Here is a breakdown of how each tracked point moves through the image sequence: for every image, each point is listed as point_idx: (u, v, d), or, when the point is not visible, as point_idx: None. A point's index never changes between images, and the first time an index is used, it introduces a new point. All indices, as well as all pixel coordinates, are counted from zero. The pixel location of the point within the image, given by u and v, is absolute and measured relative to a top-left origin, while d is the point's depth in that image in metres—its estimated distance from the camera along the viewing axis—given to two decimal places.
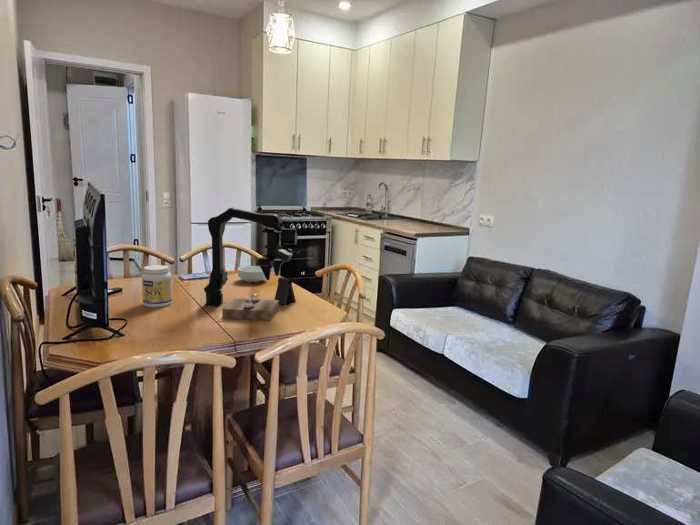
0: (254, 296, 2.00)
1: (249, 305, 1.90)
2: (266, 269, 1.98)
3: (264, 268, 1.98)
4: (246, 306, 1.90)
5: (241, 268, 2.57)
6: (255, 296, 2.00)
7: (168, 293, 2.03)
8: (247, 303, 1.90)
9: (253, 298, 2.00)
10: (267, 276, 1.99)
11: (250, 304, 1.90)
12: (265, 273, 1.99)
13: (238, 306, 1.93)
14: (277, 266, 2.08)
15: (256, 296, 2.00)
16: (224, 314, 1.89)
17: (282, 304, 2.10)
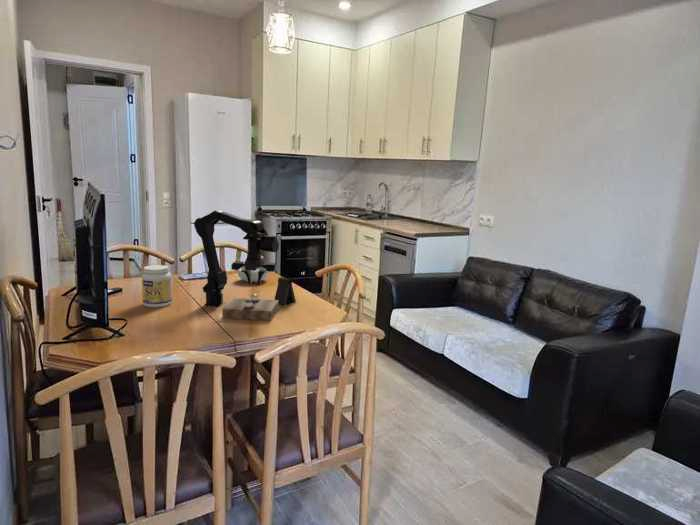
0: (254, 296, 2.00)
1: (249, 305, 1.90)
2: None
3: None
4: (246, 306, 1.90)
5: (241, 268, 2.57)
6: (255, 296, 2.00)
7: (168, 293, 2.03)
8: (247, 303, 1.90)
9: (253, 298, 2.00)
10: None
11: (250, 304, 1.90)
12: None
13: (238, 306, 1.93)
14: None
15: (256, 296, 2.00)
16: (224, 314, 1.89)
17: (282, 304, 2.10)
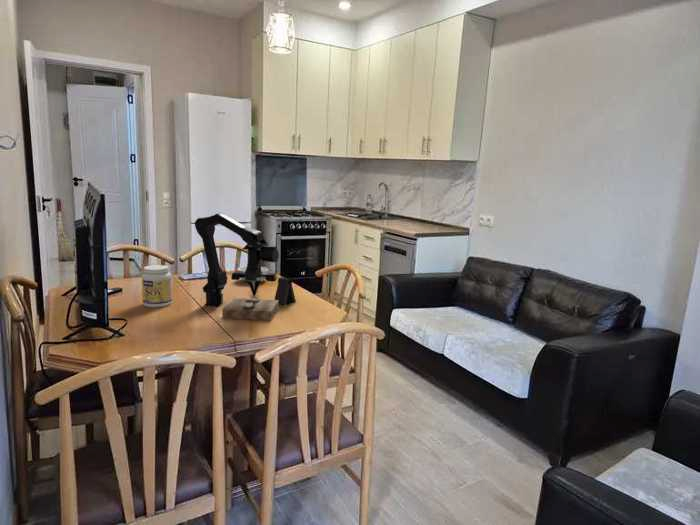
0: (254, 297, 2.00)
1: (249, 305, 1.90)
2: None
3: None
4: (246, 306, 1.90)
5: (241, 268, 2.57)
6: (255, 297, 2.00)
7: (168, 293, 2.03)
8: (247, 303, 1.90)
9: (253, 298, 2.00)
10: None
11: (250, 304, 1.90)
12: None
13: (238, 306, 1.93)
14: None
15: (256, 297, 2.00)
16: (224, 314, 1.89)
17: (282, 304, 2.10)
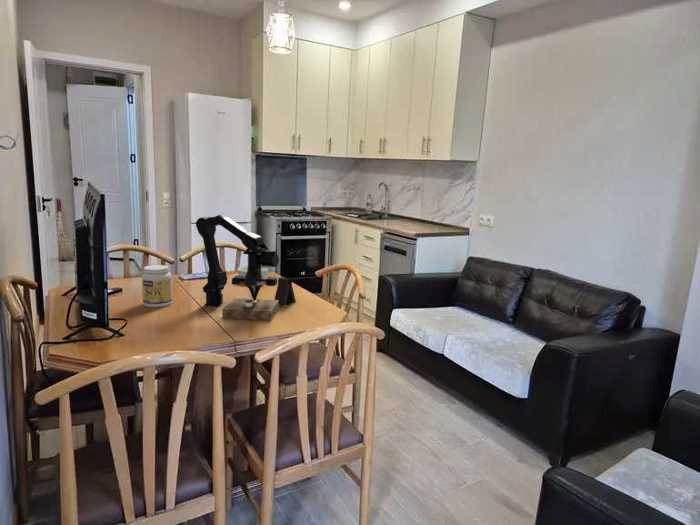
0: None
1: (249, 305, 1.90)
2: None
3: None
4: (246, 306, 1.90)
5: (241, 268, 2.57)
6: None
7: (168, 293, 2.03)
8: (247, 303, 1.90)
9: None
10: None
11: (250, 304, 1.90)
12: None
13: (238, 306, 1.93)
14: None
15: None
16: (224, 314, 1.89)
17: (282, 304, 2.10)
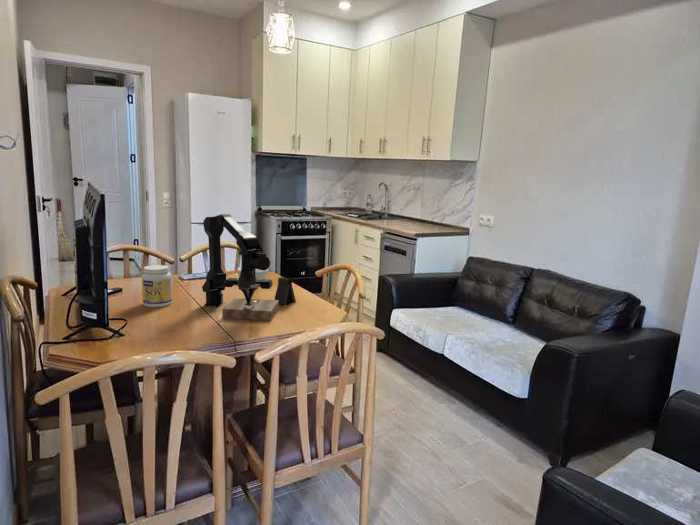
0: None
1: (249, 308, 1.90)
2: None
3: None
4: None
5: None
6: None
7: (168, 293, 2.03)
8: (247, 306, 1.90)
9: None
10: None
11: (250, 307, 1.90)
12: None
13: (238, 306, 1.93)
14: None
15: None
16: (224, 314, 1.89)
17: (282, 304, 2.10)
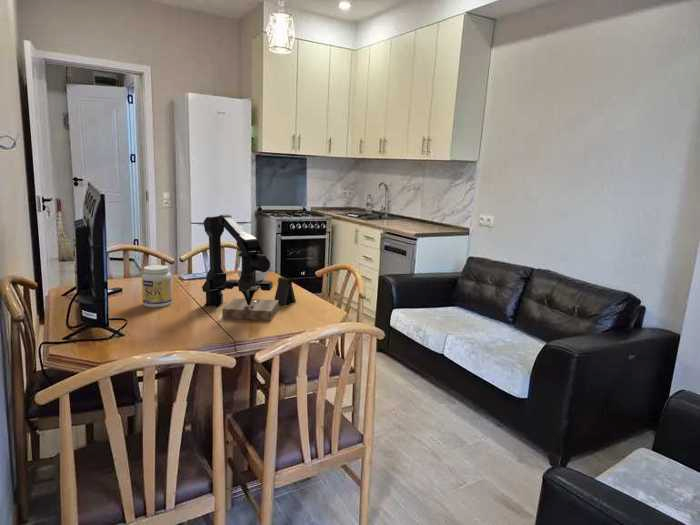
0: None
1: None
2: None
3: None
4: None
5: (241, 268, 2.57)
6: None
7: (168, 293, 2.03)
8: None
9: None
10: None
11: None
12: None
13: (238, 306, 1.93)
14: None
15: None
16: (224, 314, 1.89)
17: (282, 304, 2.10)
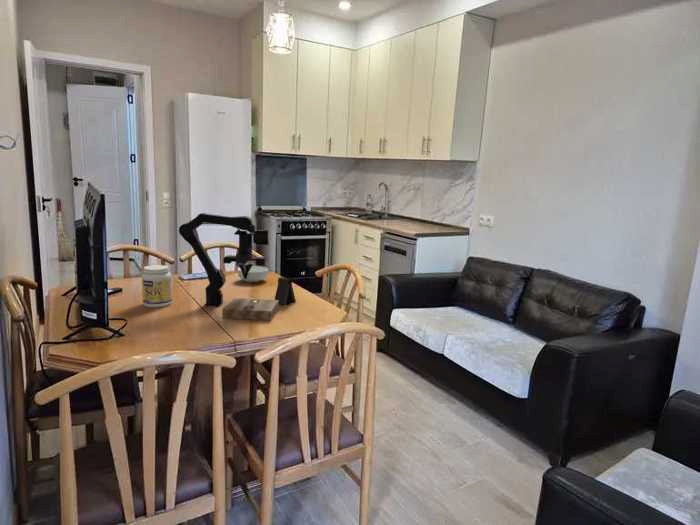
0: None
1: None
2: None
3: None
4: None
5: None
6: None
7: (168, 293, 2.03)
8: None
9: None
10: None
11: None
12: None
13: (238, 306, 1.93)
14: None
15: None
16: (224, 314, 1.89)
17: (282, 304, 2.10)
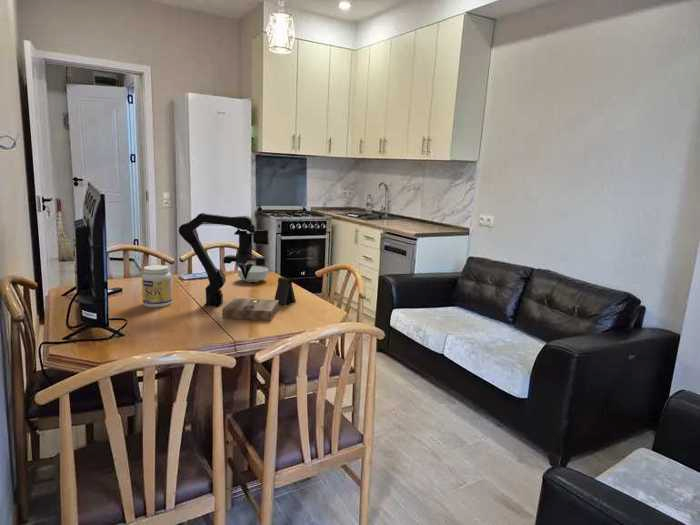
0: None
1: None
2: None
3: None
4: None
5: None
6: None
7: (168, 293, 2.03)
8: None
9: None
10: None
11: None
12: None
13: (238, 306, 1.93)
14: None
15: None
16: (224, 314, 1.89)
17: (282, 304, 2.10)
